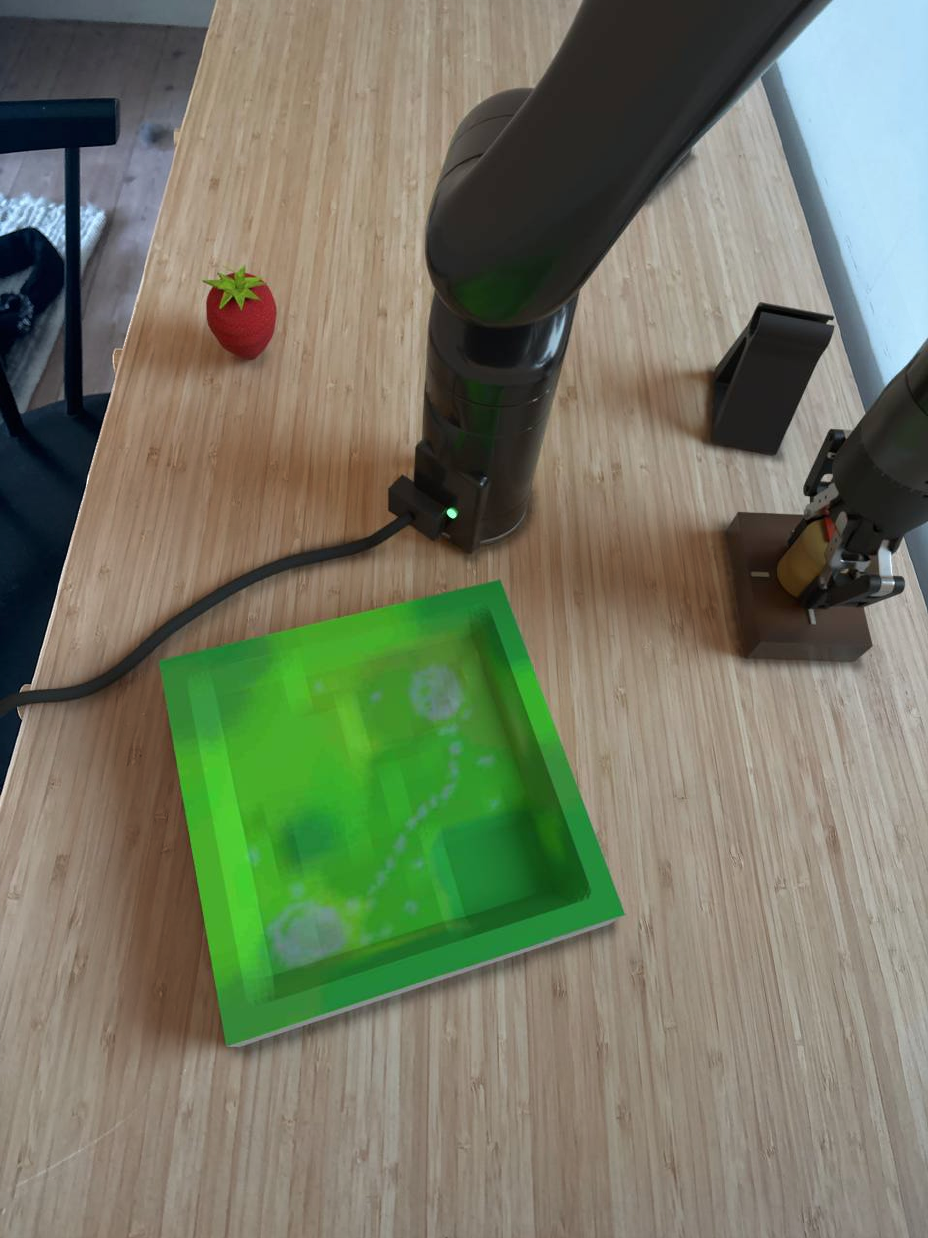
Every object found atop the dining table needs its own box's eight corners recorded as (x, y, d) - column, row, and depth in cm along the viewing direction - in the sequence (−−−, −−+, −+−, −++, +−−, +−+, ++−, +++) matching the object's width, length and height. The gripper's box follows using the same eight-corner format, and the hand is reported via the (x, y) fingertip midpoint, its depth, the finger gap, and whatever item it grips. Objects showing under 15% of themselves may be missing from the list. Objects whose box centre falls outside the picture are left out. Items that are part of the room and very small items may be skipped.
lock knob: (835, 601, 69) (868, 567, 64) (781, 599, 68) (810, 565, 63) (824, 553, 70) (856, 517, 66) (772, 551, 70) (800, 515, 65)
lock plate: (854, 661, 70) (874, 645, 67) (745, 658, 69) (761, 641, 66) (826, 535, 75) (843, 515, 72) (725, 530, 74) (738, 510, 72)
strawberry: (215, 388, 77) (192, 301, 68) (219, 325, 80) (198, 235, 71) (282, 388, 78) (268, 302, 69) (284, 326, 81) (271, 236, 72)
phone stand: (774, 456, 79) (835, 362, 68) (709, 444, 79) (760, 348, 68) (775, 382, 83) (833, 282, 72) (714, 370, 83) (762, 268, 72)
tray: (174, 687, 64) (158, 660, 60) (493, 609, 69) (500, 579, 65) (239, 1047, 54) (226, 1046, 50) (607, 925, 59) (625, 914, 55)
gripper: (841, 350, 57) (745, 499, 72) (889, 535, 50) (773, 655, 66) (950, 356, 57) (832, 503, 73) (1012, 540, 51) (869, 658, 66)
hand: (805, 574), depth 69 cm, fingers closed on lock knob, 4 cm apart
